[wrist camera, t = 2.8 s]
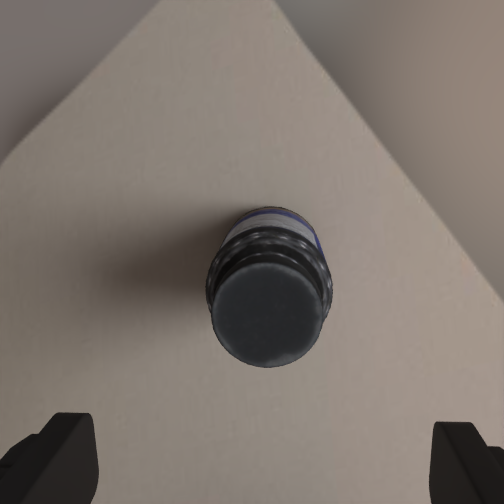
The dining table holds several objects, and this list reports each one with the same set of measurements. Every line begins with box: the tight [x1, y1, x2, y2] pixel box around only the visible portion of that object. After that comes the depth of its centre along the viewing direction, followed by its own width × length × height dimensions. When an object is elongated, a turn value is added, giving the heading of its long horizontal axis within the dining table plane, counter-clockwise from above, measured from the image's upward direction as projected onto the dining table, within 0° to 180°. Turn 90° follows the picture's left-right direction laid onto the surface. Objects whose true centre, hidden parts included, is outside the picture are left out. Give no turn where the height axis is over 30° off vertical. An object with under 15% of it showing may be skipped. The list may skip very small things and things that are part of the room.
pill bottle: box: [205, 207, 333, 368], centre depth 25 cm, size 6×6×11 cm
